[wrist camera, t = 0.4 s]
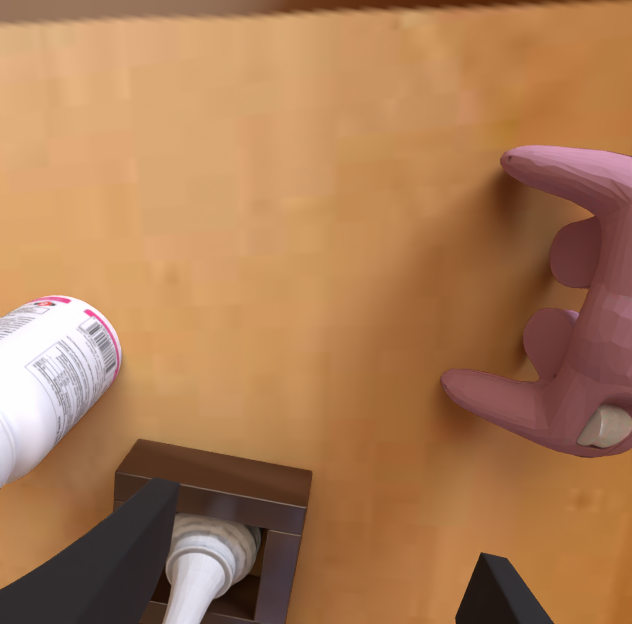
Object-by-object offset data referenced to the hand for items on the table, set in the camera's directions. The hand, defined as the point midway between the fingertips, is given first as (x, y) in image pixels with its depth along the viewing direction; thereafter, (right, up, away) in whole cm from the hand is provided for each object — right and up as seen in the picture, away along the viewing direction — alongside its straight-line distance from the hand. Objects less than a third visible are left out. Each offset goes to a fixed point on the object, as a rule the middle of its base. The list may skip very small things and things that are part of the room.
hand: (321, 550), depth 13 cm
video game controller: (+8, +7, +8) cm, 13 cm away
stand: (-5, -7, +14) cm, 16 cm away
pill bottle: (-10, +4, +10) cm, 15 cm away
